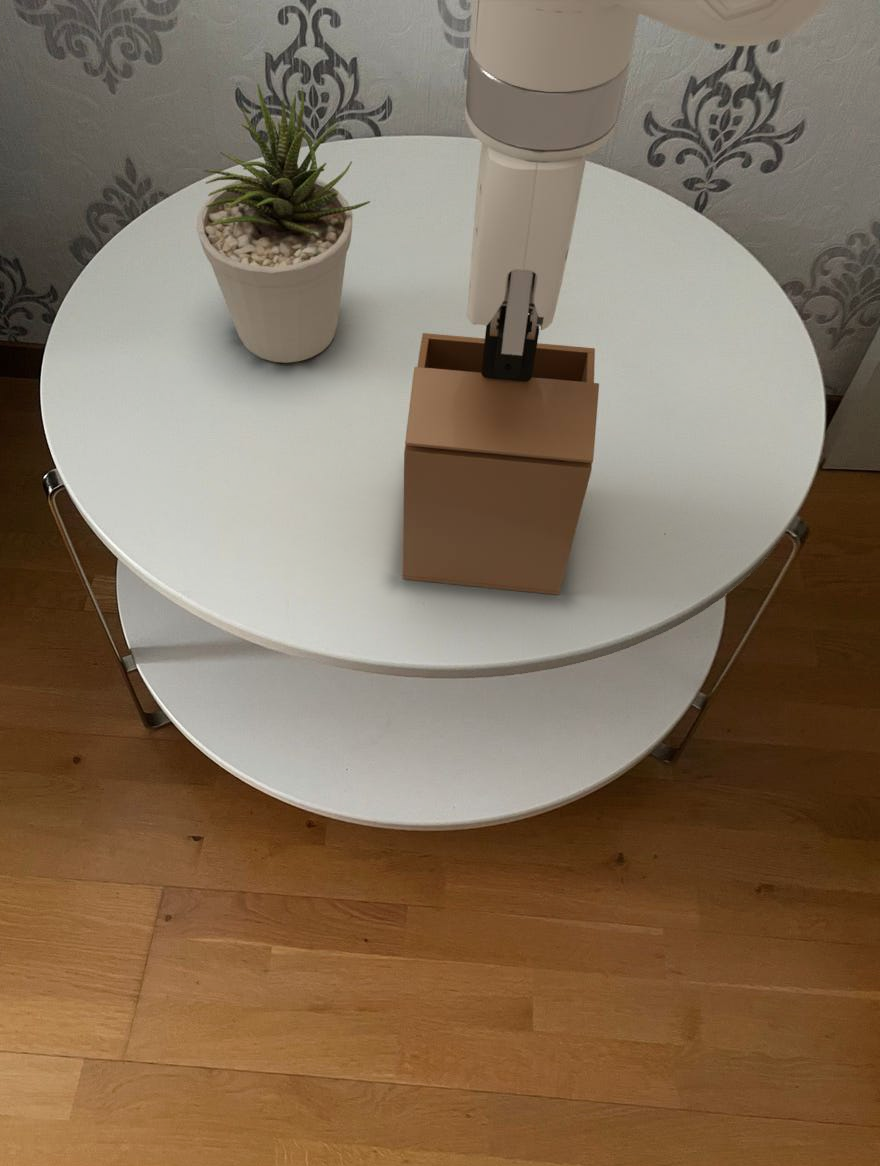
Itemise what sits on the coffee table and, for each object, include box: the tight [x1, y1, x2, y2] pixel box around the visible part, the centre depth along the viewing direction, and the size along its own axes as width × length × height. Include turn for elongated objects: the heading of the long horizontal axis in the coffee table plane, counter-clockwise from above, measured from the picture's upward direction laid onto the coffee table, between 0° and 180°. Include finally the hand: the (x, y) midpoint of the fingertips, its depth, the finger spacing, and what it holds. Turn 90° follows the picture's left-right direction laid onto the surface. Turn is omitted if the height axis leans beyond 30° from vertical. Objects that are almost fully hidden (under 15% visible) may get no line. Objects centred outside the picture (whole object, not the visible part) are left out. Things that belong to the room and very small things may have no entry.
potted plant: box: [196, 82, 371, 364], centre depth 81 cm, size 13×14×20 cm
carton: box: [402, 332, 596, 596], centre depth 72 cm, size 12×11×14 cm
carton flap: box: [404, 366, 600, 464], centre depth 63 cm, size 12×5×1 cm, turn 83°
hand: (506, 370), depth 63 cm, fingers closed
